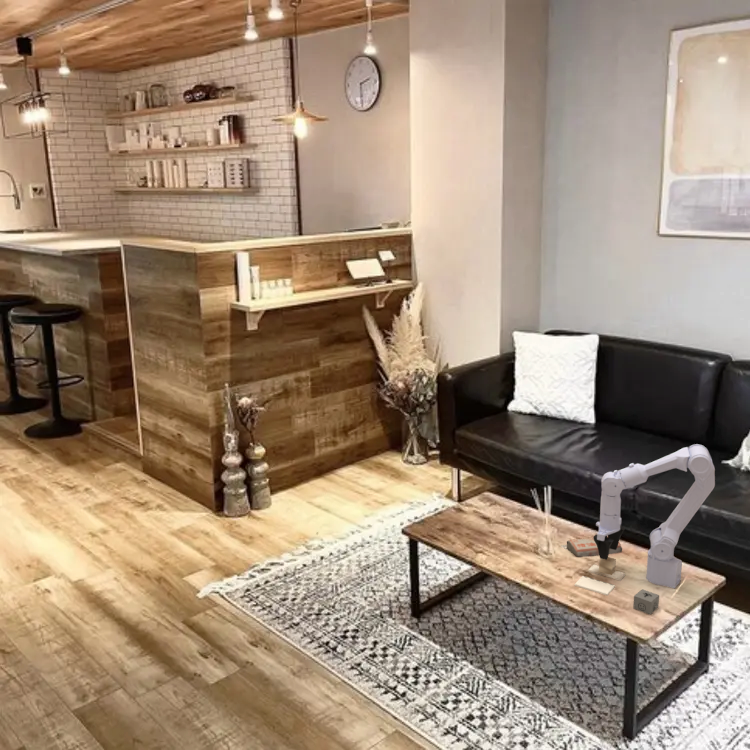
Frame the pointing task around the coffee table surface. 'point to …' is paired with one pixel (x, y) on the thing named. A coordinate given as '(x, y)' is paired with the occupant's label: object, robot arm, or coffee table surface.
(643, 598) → the dice cube
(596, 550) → the packaged product
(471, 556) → the coffee table surface
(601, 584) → the board
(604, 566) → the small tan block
